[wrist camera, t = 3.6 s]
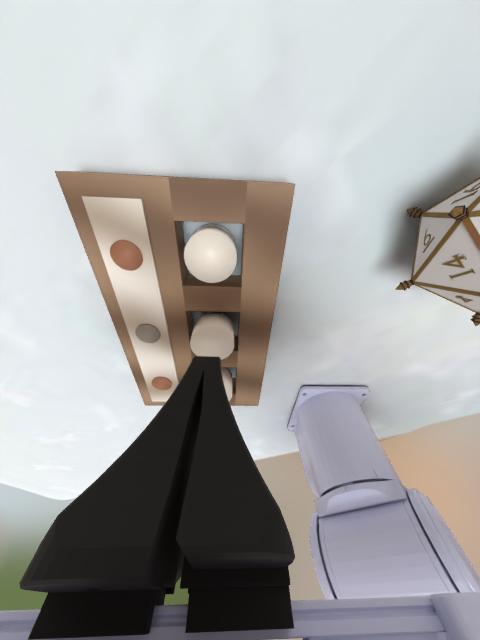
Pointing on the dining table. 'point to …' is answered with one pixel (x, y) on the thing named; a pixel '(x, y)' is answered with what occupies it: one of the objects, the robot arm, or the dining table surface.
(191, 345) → the button middle
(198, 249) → the button
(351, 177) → the dining table surface
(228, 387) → the button
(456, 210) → the game die
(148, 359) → the button board
